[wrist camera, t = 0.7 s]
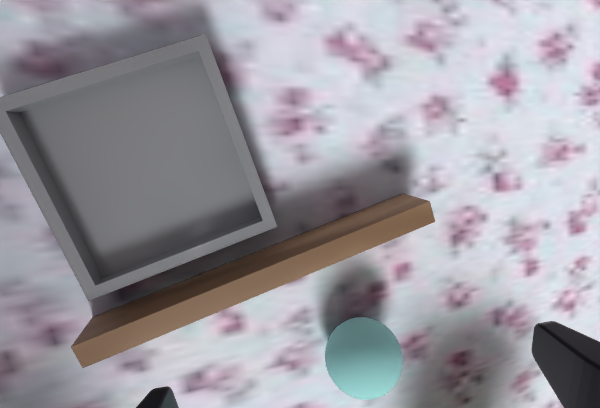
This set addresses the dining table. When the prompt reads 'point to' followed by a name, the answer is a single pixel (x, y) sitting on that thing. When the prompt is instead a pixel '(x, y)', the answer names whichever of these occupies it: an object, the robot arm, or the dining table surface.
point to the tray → (137, 164)
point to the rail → (248, 277)
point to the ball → (363, 358)
